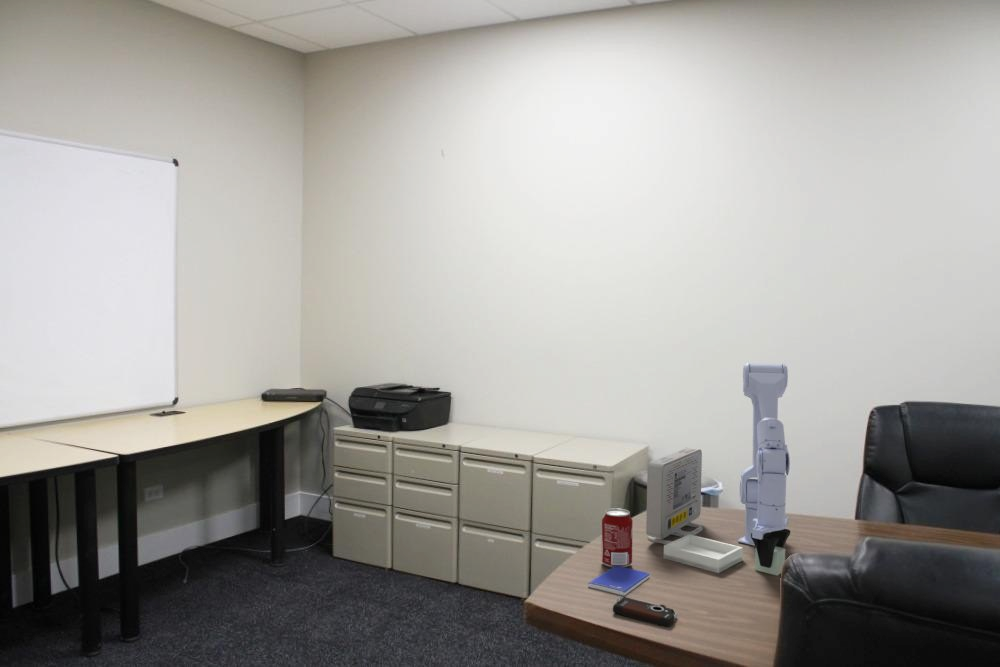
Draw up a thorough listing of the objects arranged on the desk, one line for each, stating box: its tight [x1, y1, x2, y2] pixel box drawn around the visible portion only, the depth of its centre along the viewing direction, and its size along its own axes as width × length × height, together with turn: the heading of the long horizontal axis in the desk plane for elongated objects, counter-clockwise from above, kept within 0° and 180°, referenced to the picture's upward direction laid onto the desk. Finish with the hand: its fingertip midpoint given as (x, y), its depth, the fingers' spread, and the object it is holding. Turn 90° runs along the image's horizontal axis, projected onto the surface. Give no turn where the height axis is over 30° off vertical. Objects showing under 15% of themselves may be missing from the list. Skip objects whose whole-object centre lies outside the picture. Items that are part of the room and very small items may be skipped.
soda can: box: [600, 507, 633, 569], centre depth 171 cm, size 7×7×12 cm
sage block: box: [754, 546, 786, 576], centre depth 169 cm, size 4×5×5 cm
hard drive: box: [587, 566, 650, 597], centre depth 161 cm, size 2×8×12 cm
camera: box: [612, 595, 678, 628], centre depth 144 cm, size 6×3×11 cm
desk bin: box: [663, 534, 744, 574], centre depth 175 cm, size 12×14×3 cm
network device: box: [645, 447, 703, 545], centre depth 194 cm, size 26×9×20 cm, turn 144°
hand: (769, 563), depth 169 cm, fingers closed on sage block, 4 cm apart
